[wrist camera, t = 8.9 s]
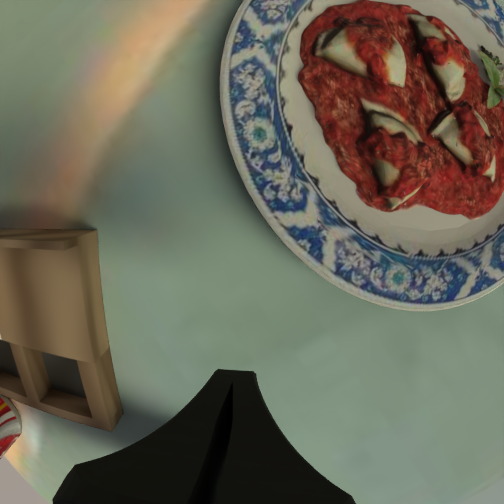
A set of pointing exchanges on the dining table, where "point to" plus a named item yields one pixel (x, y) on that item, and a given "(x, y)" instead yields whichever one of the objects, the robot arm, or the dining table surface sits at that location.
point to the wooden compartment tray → (56, 326)
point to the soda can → (8, 424)
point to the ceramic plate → (375, 140)
